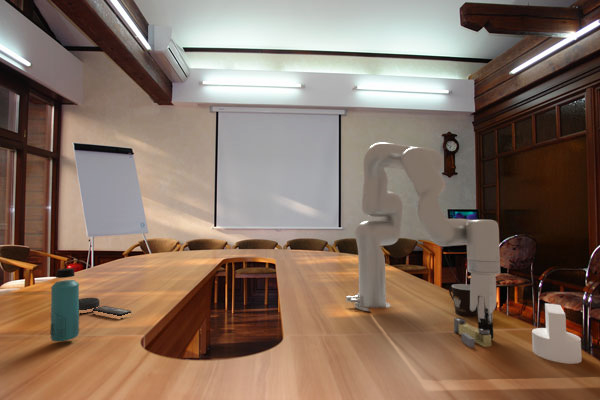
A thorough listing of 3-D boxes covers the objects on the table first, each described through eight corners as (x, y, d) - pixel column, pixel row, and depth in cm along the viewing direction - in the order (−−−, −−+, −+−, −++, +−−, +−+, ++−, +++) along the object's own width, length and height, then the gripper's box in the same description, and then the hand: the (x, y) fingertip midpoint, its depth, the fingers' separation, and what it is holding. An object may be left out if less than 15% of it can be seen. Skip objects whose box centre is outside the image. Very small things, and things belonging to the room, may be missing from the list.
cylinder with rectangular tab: (585, 373, 71) (583, 316, 71) (534, 364, 76) (532, 310, 76) (578, 358, 78) (576, 306, 79) (531, 350, 83) (530, 301, 84)
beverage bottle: (84, 339, 92) (86, 267, 93) (60, 349, 86) (62, 271, 87) (68, 337, 94) (69, 266, 95) (43, 346, 88) (44, 270, 89)
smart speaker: (89, 315, 115) (89, 303, 116) (63, 315, 116) (64, 303, 116) (104, 307, 124) (104, 297, 124) (81, 307, 124) (81, 297, 125)
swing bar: (452, 331, 93) (451, 317, 93) (460, 330, 93) (460, 316, 93) (483, 347, 81) (482, 331, 82) (493, 346, 82) (492, 330, 82)
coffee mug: (485, 323, 103) (484, 290, 104) (456, 321, 105) (455, 289, 105) (474, 312, 115) (473, 282, 115) (447, 310, 116) (446, 282, 117)
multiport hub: (119, 321, 109) (119, 314, 109) (92, 315, 116) (92, 308, 116) (131, 317, 113) (131, 310, 113) (104, 312, 120) (104, 305, 120)
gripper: (473, 262, 96) (475, 327, 95) (461, 269, 84) (464, 343, 83) (503, 264, 91) (506, 332, 90) (495, 272, 79) (498, 350, 78)
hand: (486, 337), depth 87 cm, fingers closed
